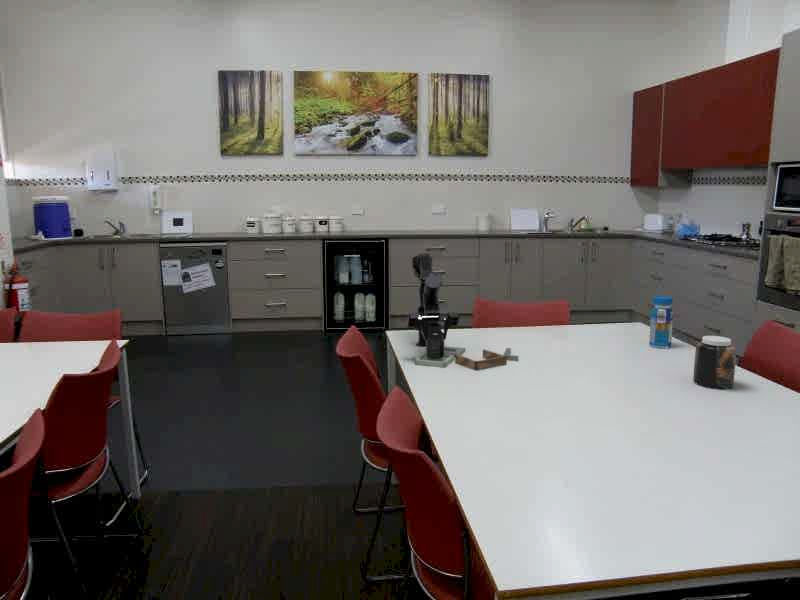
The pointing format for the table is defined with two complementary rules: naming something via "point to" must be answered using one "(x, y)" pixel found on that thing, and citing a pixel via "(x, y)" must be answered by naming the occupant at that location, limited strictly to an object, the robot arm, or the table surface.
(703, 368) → the jar
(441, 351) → the supplement bottle
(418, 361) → the tray
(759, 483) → the table surface
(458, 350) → the hole plate
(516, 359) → the crook tool
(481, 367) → the u-shaped bracket
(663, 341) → the beverage bottle
